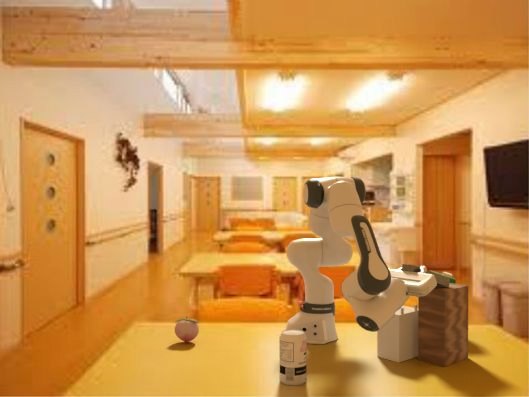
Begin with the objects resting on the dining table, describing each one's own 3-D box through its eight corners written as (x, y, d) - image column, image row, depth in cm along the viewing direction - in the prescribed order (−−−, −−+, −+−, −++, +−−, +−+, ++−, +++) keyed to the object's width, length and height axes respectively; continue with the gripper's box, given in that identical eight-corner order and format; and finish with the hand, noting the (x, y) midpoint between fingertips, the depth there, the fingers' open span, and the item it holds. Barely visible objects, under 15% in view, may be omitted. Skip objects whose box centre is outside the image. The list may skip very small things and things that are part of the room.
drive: (412, 274, 182) (414, 265, 182) (400, 273, 185) (402, 263, 186) (448, 287, 196) (450, 278, 196) (436, 285, 199) (438, 276, 200)
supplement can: (278, 377, 179) (278, 329, 179) (304, 376, 180) (304, 328, 180) (281, 386, 171) (281, 336, 171) (308, 385, 172) (308, 335, 171)
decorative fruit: (201, 339, 223) (201, 313, 223) (196, 345, 215) (196, 318, 215) (177, 339, 224) (177, 313, 224) (172, 344, 216) (172, 318, 216)
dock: (398, 362, 194) (399, 309, 194) (377, 356, 201) (377, 305, 201) (422, 354, 203) (422, 304, 203) (401, 349, 210) (401, 300, 210)
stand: (444, 366, 190) (444, 290, 189) (418, 359, 197) (418, 286, 197) (467, 357, 200) (468, 285, 199) (442, 351, 207) (442, 282, 207)
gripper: (420, 288, 170) (442, 261, 178) (365, 280, 186) (387, 256, 193) (426, 305, 172) (448, 278, 180) (371, 296, 188) (393, 271, 196)
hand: (416, 266), depth 187 cm, fingers closed on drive, 4 cm apart
